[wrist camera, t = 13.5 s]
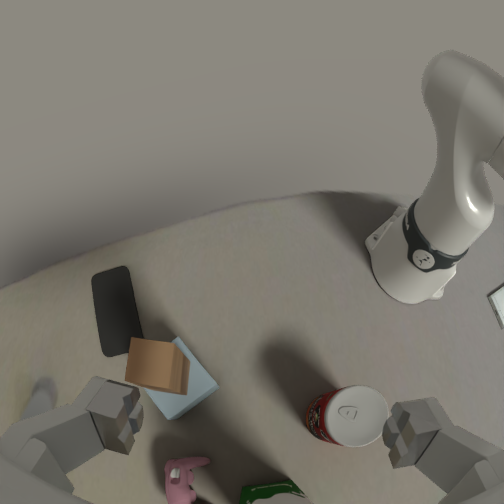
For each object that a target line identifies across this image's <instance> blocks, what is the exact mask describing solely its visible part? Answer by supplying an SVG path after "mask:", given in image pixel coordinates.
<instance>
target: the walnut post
mask: <svg viewBox="0 0 504 504" xmlns="http://www.w3.org/2000/svg"><path fill="white" fill-rule="evenodd" d="M189 371H190V361H189V359H188V358H187V357H186V356H185V355H184V354H183V353H182V351H181V350H180V349H179V348H178V347H177V346H176V344H175V343H169V342H162V341H154V340H147V339H140V338H134V337H131V343H130V348H129V355H128V361H127V367H126V374H125V381H127V382H130V383H133V384H136V385H138V386H141V387H144V388H147V389H150V390H154V391H160V392H166V393H173V394H180V395H187V391H188V381H189Z"/></svg>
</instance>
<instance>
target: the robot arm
mask: <svg viewBox="0 0 504 504" xmlns="http://www.w3.org/2000/svg"><path fill="white" fill-rule="evenodd" d="M422 95H423V99H424V103H425V105H426V107H427V109H428V111H429V113H430V115H431V118H432V121H433V124H434V127H435V131H436V137H437V161H436V166H435V169H434V172H433V174H432V176H431V179H430V181H429V182H428V184H427V186H426V188H425V190H424V192H423V193H422V195H421V196H420V198H418V199H417V200H415V201H414V203H412V204H411V206H410V207H409V208H405V207H401V206H399V207H398V208H397V209H396V210H395V212H394V213H393V216H391V217H390V218H389V219H388V220H387V221H386V222H385V223H384V224H382V225H381V226H380V227H379V228H378V229H377V230H376V231H374V232H373V233H372V234H371V235H370V236H369V237H368V238H367V239H366V240H365V245H366V247H367V249H368V251H369V253H370V255H371V262H372V269H373V272H374V275H375V277H376V279H377V281H378V283H379V284H380V286H381V287H382V288H383V289H384V290H385V292H387V293H388V294H389V295H390V296H391V297H393V298H394V299H396V300H398V301H401V302H404V303H409V304H415V303H419V302H422V301H424V300H427V299H433V300H437V299H440V298H441V296H442V295H443V291H444V285H445V284H446V283H447V282H448V281H449V280H450V279H451V278H452V277H453V276H454V275H455V273H456V264H457V263H458V262H459V261H460V260H461V259H462V258H463V257H464V255H465V254H466V253H467V251H468V249H469V247H470V246H471V245H472V244H473V243H474V242H475V241H476V240H477V238H478V237H479V236H480V235H481V234H482V233H483V232H484V231H485V230H486V229H487V228H488V227H489V225H490V224H491V222H492V219H493V216H494V200H493V196H492V192H491V189H490V187H489V184H488V182H487V179H486V177H485V173H484V167H483V161H484V162H486V163H488V162H489V163H488V164H489V165H490V166H491V167H492V168H493V169H494V170H495V171H496V172H497V173H498V174H499V175H500V176H501V177H502V178H503V179H504V78H503V77H502V76H501V75H499V74H498V73H497V72H495V71H494V70H493V69H491V68H490V67H489V66H487V65H486V64H484V63H482V62H480V61H478V60H476V59H474V58H472V57H470V56H467V55H465V54H462V53H459V52H457V51H454V50H448V51H445V52H442V53H440V54H438V55H437V56H435V57H434V58H433V59H432V60H431V61H430V62H429V63H428V65H427V66H426V68H425V71H424V73H423V78H422ZM492 156H493V157H492ZM490 159H491V160H490ZM374 239H376V240H374ZM139 398H140V392H139V388H137V387H135V386H131V385H127V384H124V383H120V382H116V381H113V380H108V379H105V378H102V377H98V376H95V377H93V378H92V379H91V380H90V381H89V383H88V384H87V385H86V386H85V388H84V389H83V390H82V392H81V393H80V394H79V395H78V397H77V398H76V399H75V401H74V402H73V403H72V405H70V404H66V405H63V406H60V407H58V408H55V409H53V410H50V411H47V412H44V413H42V414H39V415H37V416H33V417H31V418H28V419H25V420H22V421H19V422H16V423H13V424H12V425H11V426H10V427H9V428H8V430H7V431H6V432H5V433H4V434H3V436H2V437H1V438H0V504H93V503H91V502H88V501H86V500H84V499H81V498H79V497H77V496H75V495H73V494H72V492H73V490H74V487H73V484H72V483H71V482H70V480H69V479H68V478H67V476H66V475H65V474H67V473H68V472H70V471H72V470H73V469H75V468H77V467H78V466H80V465H82V464H83V463H85V462H86V461H88V460H90V459H91V458H93V457H94V456H96V455H97V454H99V453H100V452H102V451H104V449H108V450H111V451H114V452H118V453H121V454H125V455H129V453H130V451H131V449H132V446H133V444H134V442H135V440H134V436H133V435H134V434H136V433H137V432H139V431H140V429H141V426H142V423H143V418H144V414H143V406H142V405H141V404H140V403H139V401H138V400H139ZM391 413H392V416H391V417H389V418H388V419H387V420H386V422H385V424H384V426H383V432H382V437H383V441H384V444H385V446H387V447H388V448H389V449H390V452H389V454H388V455H389V458H390V461H391V464H392V466H393V469H395V468H401V467H406V466H412V465H415V467H416V468H418V469H419V470H420V471H421V472H422V473H423V474H425V475H426V476H427V477H428V478H429V479H430V480H432V481H433V482H434V483H435V484H436V485H438V486H439V487H440V488H441V489H442V490H444V491H445V492H446V493H447V495H446V496H445V497H444V498H443V499H442V500H441V501H440V502H439V503H438V504H504V450H503V449H501V448H499V447H497V446H495V445H493V444H491V443H489V442H487V441H485V440H483V439H481V438H480V437H478V436H476V435H474V434H472V433H470V432H468V431H467V430H465V429H463V428H461V427H459V426H454V425H453V423H452V422H451V420H450V419H449V417H448V415H447V414H446V412H445V411H444V409H443V408H442V406H441V405H440V403H439V401H438V400H437V399H436V398H435V397H430V398H424V399H418V400H411V401H403V402H396V403H395V404H394V405H393V407H392V409H391Z"/></svg>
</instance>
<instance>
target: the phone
mask: <svg viewBox="0 0 504 504" xmlns="http://www.w3.org/2000/svg"><path fill="white" fill-rule="evenodd" d="M92 291H93V299H94V306H95V313H96V320H97V326H98V332H99V337H100V343H101V348H102V352H103V354H104V355H105V356H107V357H113V356H117V355H120V354H124V353H128V352H129V348H130V343H131V337H134V338H140V339H143V335H142V331H141V326H140V322H139V318H138V313H137V309H136V304H135V299H134V293H133V288H132V284H131V278H130V273H129V270H128V268H127V267H125V266H122V267H118V268H115V269H112V270H109V271H105V272H102V273H99V274H96V275H95V276H93V278H92Z"/></svg>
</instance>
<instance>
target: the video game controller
mask: <svg viewBox="0 0 504 504" xmlns="http://www.w3.org/2000/svg"><path fill="white" fill-rule="evenodd" d="M210 462H211V460H210V459H209V458H206V457H187V458H181V459H170V460H168V461H167V463H166V465H165V469H164V471H165V475H166V477H165V489H166V496H167V501H168V504H193V503H194V502H195V500H196V493H195V491H194V490H190V487H189V485H190V484H192V483H193V480H194V474H193V472H191V471H190V469H192V468H195V467H200V466H205V465H207V464H209V463H210Z"/></svg>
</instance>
